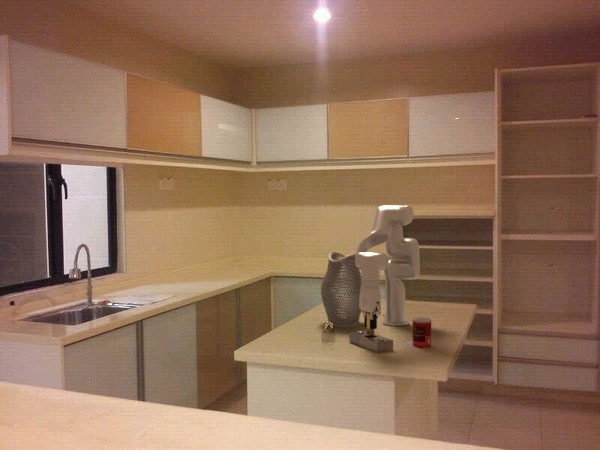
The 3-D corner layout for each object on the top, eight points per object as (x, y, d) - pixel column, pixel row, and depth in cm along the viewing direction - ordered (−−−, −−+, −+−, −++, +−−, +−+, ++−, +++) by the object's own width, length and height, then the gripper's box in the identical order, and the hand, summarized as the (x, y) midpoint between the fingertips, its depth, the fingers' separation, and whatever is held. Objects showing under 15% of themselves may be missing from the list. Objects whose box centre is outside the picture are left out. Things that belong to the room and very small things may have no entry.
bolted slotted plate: (349, 342, 249) (349, 331, 249) (364, 339, 253) (364, 329, 253) (376, 352, 232) (376, 341, 231) (393, 350, 235) (393, 338, 235)
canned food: (428, 342, 247) (428, 317, 246) (433, 347, 239) (433, 321, 238) (410, 343, 246) (410, 317, 246) (415, 348, 238) (415, 321, 238)
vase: (313, 325, 282) (312, 254, 281) (332, 317, 302) (331, 250, 300) (355, 330, 272) (355, 255, 270) (372, 321, 291) (372, 251, 290)
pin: (365, 333, 243) (365, 309, 242) (371, 332, 244) (371, 309, 244) (369, 335, 240) (369, 311, 239) (375, 334, 241) (375, 310, 241)
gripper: (351, 282, 247) (352, 325, 247) (374, 287, 232) (374, 332, 233) (366, 281, 250) (366, 323, 251) (389, 285, 236) (389, 330, 236)
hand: (370, 327), depth 242 cm, fingers closed on pin, 3 cm apart
